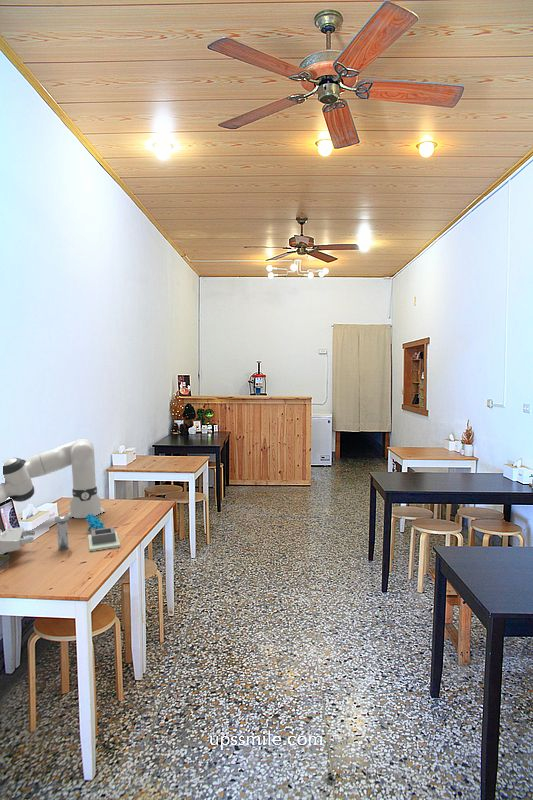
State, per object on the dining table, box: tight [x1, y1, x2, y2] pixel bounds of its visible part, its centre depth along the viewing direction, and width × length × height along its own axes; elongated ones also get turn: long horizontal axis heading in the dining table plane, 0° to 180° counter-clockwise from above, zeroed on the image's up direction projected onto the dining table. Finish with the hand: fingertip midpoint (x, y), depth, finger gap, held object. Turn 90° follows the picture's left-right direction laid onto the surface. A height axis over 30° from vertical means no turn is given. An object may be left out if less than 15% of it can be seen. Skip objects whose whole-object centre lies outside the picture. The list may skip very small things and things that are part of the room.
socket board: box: [87, 526, 121, 552], centre depth 215 cm, size 20×12×5 cm, turn 21°
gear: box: [85, 514, 105, 531], centre depth 233 cm, size 11×6×10 cm
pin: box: [54, 514, 70, 551], centre depth 209 cm, size 6×6×13 cm
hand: (34, 535), depth 205 cm, fingers open, 8 cm apart
